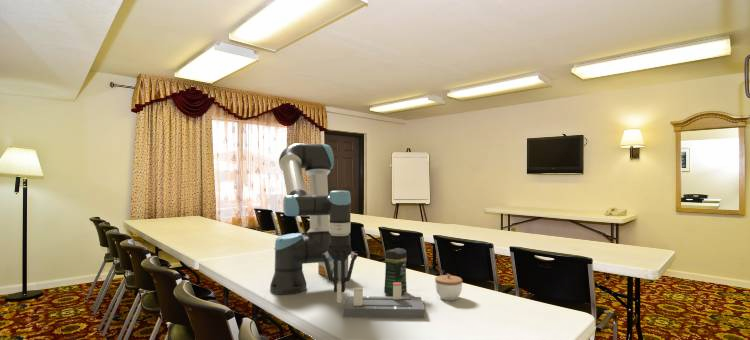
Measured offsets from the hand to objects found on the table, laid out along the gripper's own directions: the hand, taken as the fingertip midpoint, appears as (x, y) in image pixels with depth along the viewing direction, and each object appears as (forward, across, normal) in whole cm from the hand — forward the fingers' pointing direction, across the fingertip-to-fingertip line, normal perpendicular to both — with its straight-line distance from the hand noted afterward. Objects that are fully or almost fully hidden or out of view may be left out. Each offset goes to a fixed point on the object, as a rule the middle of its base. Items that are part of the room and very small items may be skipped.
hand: (339, 301), depth 129 cm
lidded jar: (+5, +42, +19) cm, 46 cm away
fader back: (+1, +21, +7) cm, 22 cm away
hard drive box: (+5, -10, +50) cm, 52 cm away
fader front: (+1, +7, 0) cm, 7 cm away
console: (+5, +16, +4) cm, 17 cm away
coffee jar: (+5, +20, +24) cm, 32 cm away
